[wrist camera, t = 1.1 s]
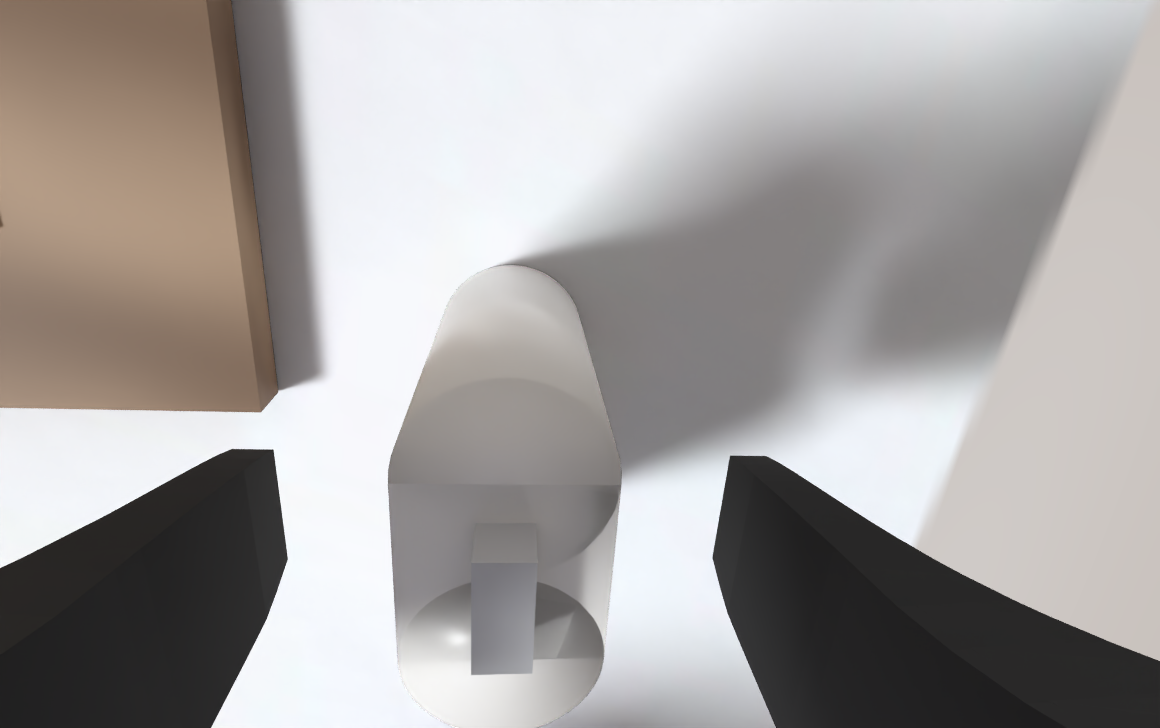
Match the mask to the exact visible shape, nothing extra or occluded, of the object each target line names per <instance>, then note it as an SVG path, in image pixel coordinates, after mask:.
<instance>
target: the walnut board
mask: <svg viewBox="0 0 1160 728" xmlns="http://www.w3.org/2000/svg"><path fill="white" fill-rule="evenodd" d="M277 393H278V385H277V377H276V369H275V361H274V352H273V344H272V336H271V327H270V319H269V311H268V302H267V294H266V286H265V278H264V269H263V261H262V253H261V244H260V236H259V228H258V219H257V211H256V203H255V194H254V186H253V178H252V170H251V161H250V153H249V145H248V136H247V128H246V120H245V111H244V103H243V95H242V87H241V78H240V70H239V62H238V53H237V45H236V37H235V28H234V20H233V12H232V3H231V0H0V408H51V409H107V410H163V411H219V412H262V410H263V409H264V408H265V407H266V406H267V405H268V403H269V402H270V401H271V400H272V399H273V398H274V396H275V395H276V394H277Z"/></svg>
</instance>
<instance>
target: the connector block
mask: <svg viewBox="0 0 1160 728" xmlns="http://www.w3.org/2000/svg"><path fill="white" fill-rule="evenodd" d="M621 478H622V471H621V463H620V458H619V454H618V451H617V447H616V444H615V440H614V437H613V433H612V430H611V426H610V423H609V419H608V416H607V412H606V409H605V405H604V402H603V398H602V395H601V391H600V388H599V384H598V381H597V377H596V374H595V370H594V367H593V363H592V360H591V356H590V353H589V349H588V346H587V342H586V339H585V335H584V332H583V328H582V325H581V321H580V318H579V314H578V311H577V308H576V306H575V304H574V302H573V300H572V298H571V297H570V295H569V294H568V292H567V291H566V290H565V289H564V288H563V287H562V286H561V285H560V284H559V283H558V282H557V281H556V280H554V279H553V278H552V277H550V276H548V275H547V274H545V273H543V272H541V271H538V270H536V269H533V268H529V267H525V266H518V265H503V266H496V267H492V268H489V269H485V270H483V271H481V272H479V273H477V274H475V275H473V276H472V277H470V278H469V279H467V280H466V281H465V282H464V283H462V284H461V285H460V287H459V288H458V289H457V290H456V291H455V292H454V294H453V295H452V297H451V298H450V300H449V302H448V304H447V306H446V309H445V311H444V314H443V317H442V319H441V322H440V325H439V328H438V330H437V333H436V336H435V338H434V341H433V344H432V346H431V349H430V352H429V354H428V357H427V360H426V362H425V365H424V368H423V371H422V373H421V376H420V379H419V381H418V384H417V387H416V389H415V392H414V395H413V397H412V400H411V403H410V406H409V408H408V411H407V414H406V416H405V419H404V422H403V424H402V427H401V430H400V432H399V435H398V438H397V440H396V443H395V446H394V449H393V452H392V455H391V458H390V464H389V469H388V493H389V511H390V530H391V548H392V566H393V585H394V603H395V621H396V640H397V658H398V668H399V674H400V677H401V680H402V683H403V685H404V687H405V688H406V690H407V692H408V693H409V695H410V696H411V698H412V699H413V700H414V701H415V702H416V703H417V704H418V705H419V706H420V707H421V708H422V709H423V710H424V711H426V712H427V713H428V714H430V715H431V716H433V717H435V718H436V719H438V720H440V721H442V722H444V723H446V724H448V725H451V726H454V727H457V728H537V727H540V726H542V725H545V724H547V723H550V722H552V721H554V720H556V719H558V718H560V717H562V716H563V715H565V714H566V713H568V712H569V711H571V710H572V709H573V708H575V707H576V706H577V705H578V704H579V703H580V702H581V701H582V700H583V699H584V698H585V697H586V696H587V695H588V694H589V692H590V691H591V690H592V688H593V687H594V685H595V683H596V681H597V680H598V678H599V675H600V672H601V669H602V665H603V660H604V652H605V642H606V632H607V622H608V612H609V602H610V592H611V582H612V572H613V562H614V553H615V543H616V533H617V523H618V513H619V503H620V493H621Z"/></svg>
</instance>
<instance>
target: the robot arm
mask: <svg viewBox="0 0 1160 728" xmlns="http://www.w3.org/2000/svg"><path fill="white" fill-rule="evenodd" d="M287 560H288V558H287V550H286V542H285V535H284V527H283V519H282V512H281V504H280V497H279V489H278V481H277V474H276V466H275V458H274V451H273V450H256V449H231V450H229V451H226V452H224V453H222V454H219V455H217V456H215V457H213V458H211V459H209V460H207V461H205V462H203V463H201V464H199V465H198V466H196V467H194V468H192V469H190V470H188V471H186V472H185V473H183V474H181V475H179V476H177V477H175V478H174V479H172V480H170V481H168V482H166V483H164V484H163V485H161V486H159V487H157V488H155V489H154V490H152V491H150V492H148V493H146V494H144V495H143V496H141V497H139V498H137V499H135V500H133V501H132V502H130V503H128V504H126V505H124V506H122V507H121V508H119V509H117V510H115V511H113V512H111V513H110V514H108V515H106V516H104V517H102V518H100V519H98V520H96V521H94V522H92V523H90V524H88V525H86V526H84V527H82V528H80V529H78V530H76V531H74V532H73V533H71V534H69V535H67V536H65V537H63V538H61V539H59V540H57V541H55V542H53V543H51V544H49V545H47V546H45V547H43V548H41V549H39V550H37V551H35V552H33V553H31V554H29V555H27V556H25V557H23V558H21V559H19V560H17V561H15V562H13V563H10V564H8V565H6V566H4V567H2V568H0V728H211V727H212V725H213V723H214V721H215V719H216V717H217V715H218V713H219V711H220V709H221V707H222V705H223V703H224V701H225V700H226V698H227V696H228V694H229V692H230V690H231V688H232V686H233V684H234V682H235V680H236V678H237V676H238V675H239V673H240V671H241V669H242V667H243V665H244V663H245V661H246V659H247V657H248V655H249V653H250V651H251V649H252V647H253V645H254V643H255V641H256V639H257V637H258V635H259V633H260V631H261V629H262V627H263V625H264V623H265V621H266V619H267V616H268V614H269V611H270V608H271V606H272V603H273V600H274V598H275V595H276V592H277V589H278V586H279V583H280V580H281V577H282V574H283V571H284V569H285V566H286V563H287ZM713 561H714V565H715V569H716V573H717V577H718V581H719V585H720V588H721V592H722V595H723V599H724V602H725V606H726V609H727V613H728V615H729V618H730V620H731V623H732V625H733V627H734V630H735V632H736V635H737V637H738V639H739V642H740V644H741V647H742V649H743V651H744V654H745V656H746V659H747V661H748V663H749V666H750V668H751V670H752V673H753V675H754V677H755V680H756V682H757V684H758V687H759V689H760V691H761V694H762V696H763V698H764V701H765V703H766V705H767V708H768V710H769V712H770V715H771V717H772V719H773V722H774V724H775V726H776V728H1160V661H1158V660H1155V659H1153V658H1150V657H1147V656H1145V655H1142V654H1140V653H1137V652H1134V651H1132V650H1129V649H1127V648H1124V647H1121V646H1119V645H1116V644H1114V643H1111V642H1109V641H1106V640H1104V639H1102V638H1099V637H1097V636H1095V635H1092V634H1090V633H1087V632H1085V631H1083V630H1080V629H1078V628H1076V627H1073V626H1071V625H1069V624H1066V623H1064V622H1061V621H1059V620H1057V619H1054V618H1052V617H1049V616H1047V615H1045V614H1043V613H1041V612H1038V611H1036V610H1034V609H1032V608H1030V607H1027V606H1025V605H1023V604H1020V603H1019V602H1017V601H1015V600H1012V599H1010V598H1008V597H1006V596H1004V595H1002V594H1000V593H998V592H996V591H994V590H992V589H990V588H988V587H986V586H984V585H982V584H980V583H978V582H976V581H974V580H972V579H970V578H968V577H966V576H964V575H962V574H960V573H958V572H957V571H955V570H953V569H951V568H949V567H947V566H945V565H943V564H942V563H940V562H938V561H936V560H934V559H932V558H931V557H929V556H927V555H926V554H924V553H922V552H921V551H919V550H917V549H915V548H914V547H912V546H910V545H909V544H907V543H905V542H903V541H902V540H900V539H898V538H896V537H895V536H893V535H892V534H890V533H888V532H887V531H885V530H883V529H882V528H880V527H878V526H877V525H875V524H874V523H872V522H870V521H869V520H867V519H866V518H864V517H862V516H861V515H859V514H858V513H856V512H855V511H853V510H852V509H850V508H848V507H847V506H845V505H844V504H842V503H841V502H839V501H838V500H836V499H835V498H833V497H832V496H830V495H828V494H827V493H825V492H824V491H822V490H821V489H819V488H818V487H816V486H815V485H813V484H812V483H810V482H809V481H807V480H806V479H804V478H802V477H801V476H799V475H798V474H796V473H795V472H793V471H791V470H790V469H788V468H787V467H785V466H783V465H782V464H780V463H778V462H776V461H775V460H773V459H771V458H769V457H767V456H730V459H729V465H728V471H727V477H726V482H725V488H724V494H723V500H722V506H721V511H720V517H719V523H718V529H717V534H716V540H715V546H714V552H713Z"/></svg>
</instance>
